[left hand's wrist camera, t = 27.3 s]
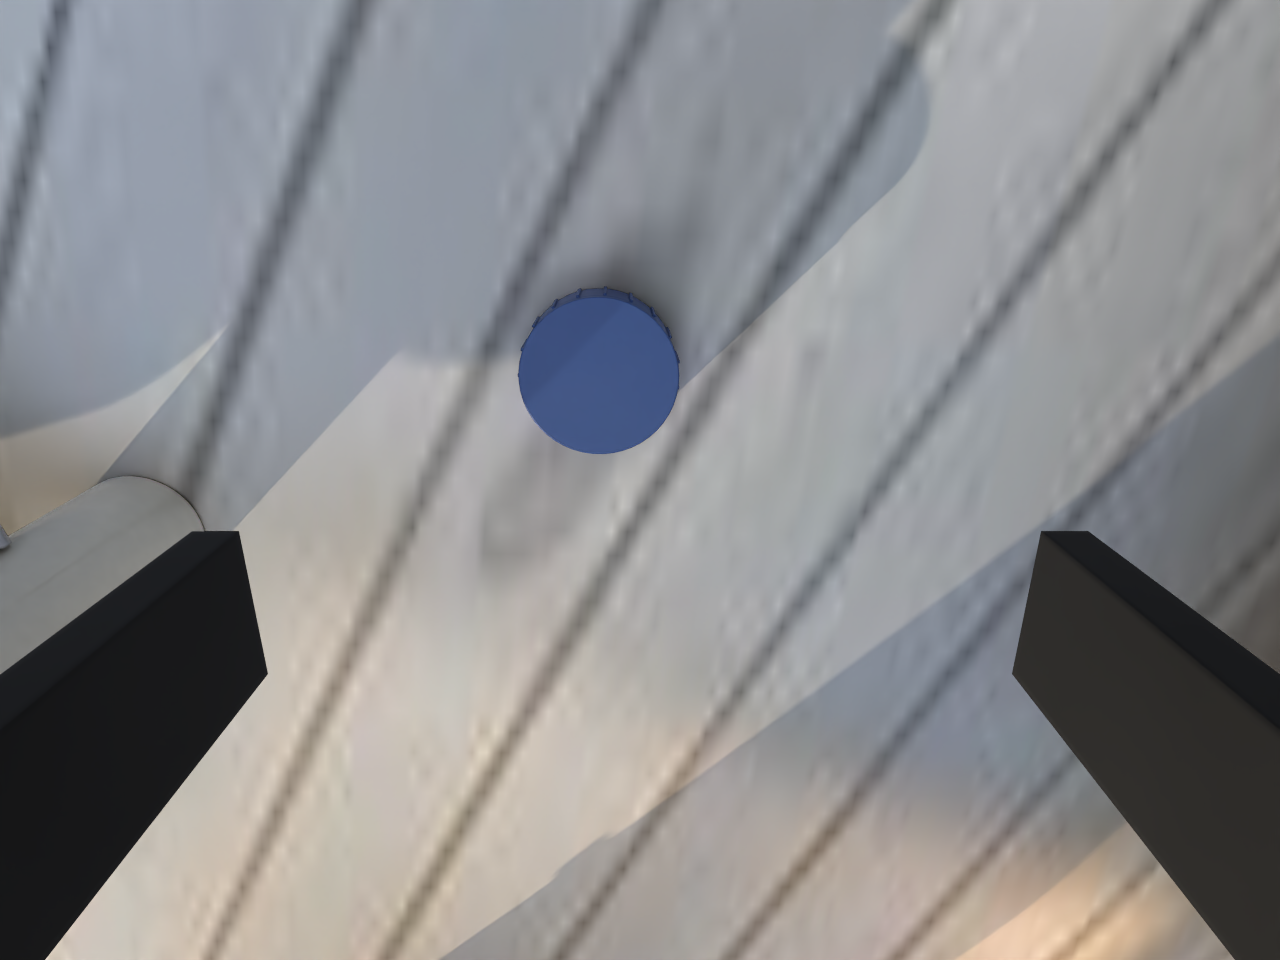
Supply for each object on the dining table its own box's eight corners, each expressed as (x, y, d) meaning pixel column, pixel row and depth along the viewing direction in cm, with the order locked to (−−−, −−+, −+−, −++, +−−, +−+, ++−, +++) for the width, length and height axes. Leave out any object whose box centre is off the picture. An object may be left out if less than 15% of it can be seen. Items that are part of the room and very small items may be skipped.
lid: (664, 273, 26) (668, 281, 24) (686, 423, 28) (691, 442, 26) (509, 300, 27) (500, 310, 25) (542, 447, 29) (536, 467, 27)
